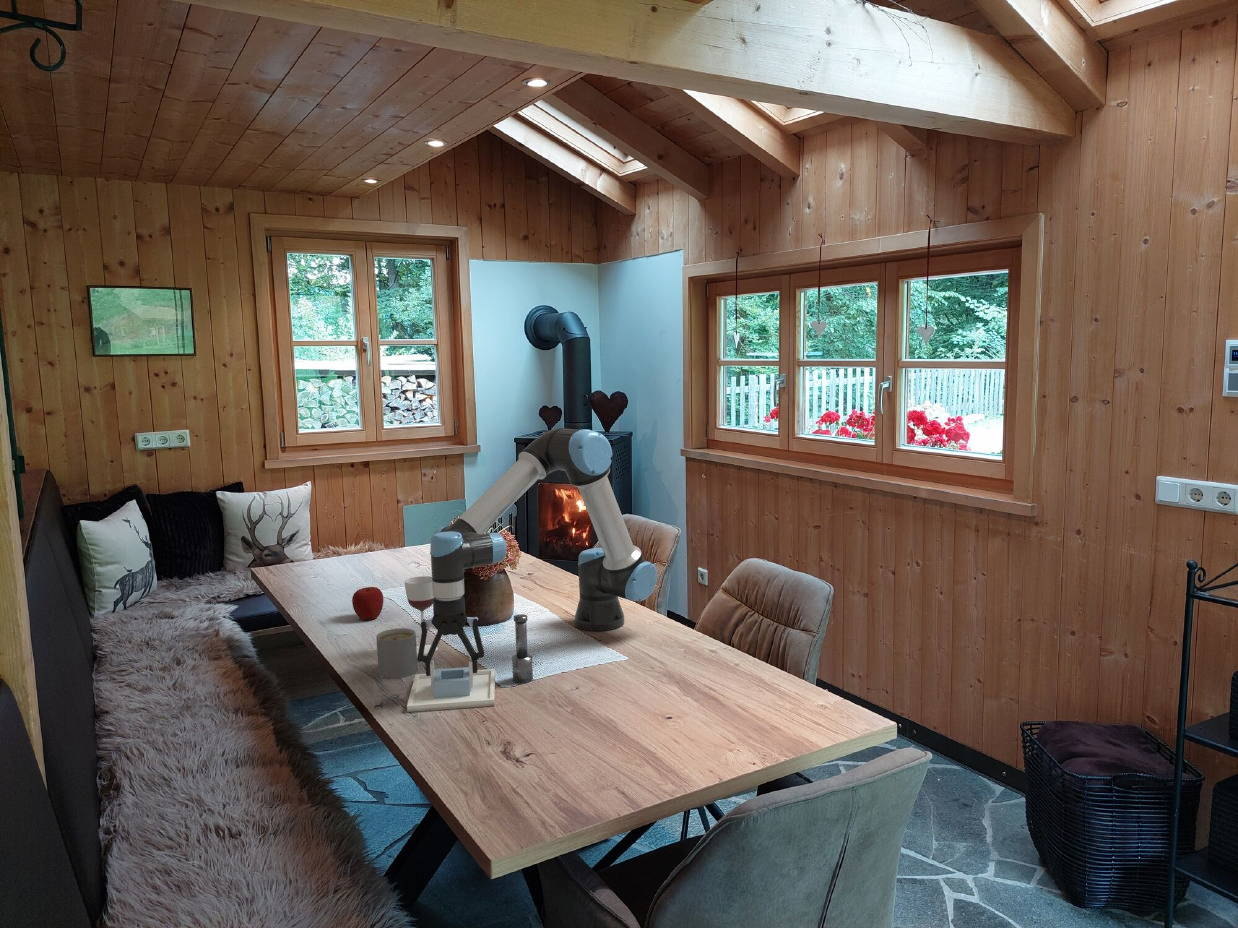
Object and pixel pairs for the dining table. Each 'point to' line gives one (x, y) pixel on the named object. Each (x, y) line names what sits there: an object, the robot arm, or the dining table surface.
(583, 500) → the robot arm
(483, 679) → the tray
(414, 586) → the wineglass
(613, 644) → the dining table surface
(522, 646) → the pestle
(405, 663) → the coffee mug
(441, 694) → the ring
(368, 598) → the apple
